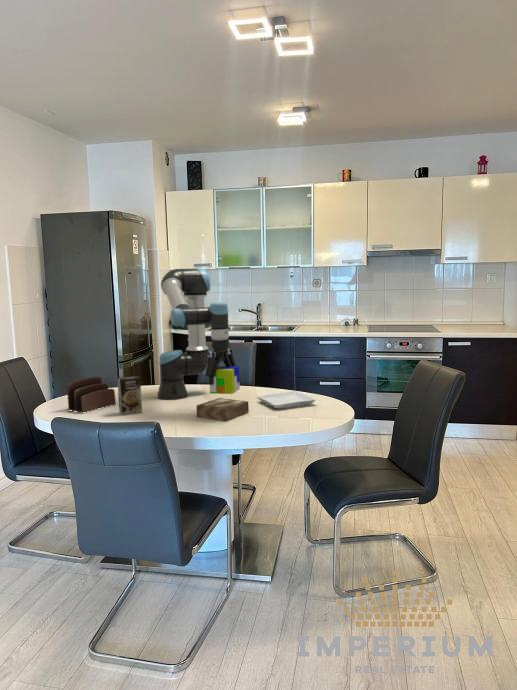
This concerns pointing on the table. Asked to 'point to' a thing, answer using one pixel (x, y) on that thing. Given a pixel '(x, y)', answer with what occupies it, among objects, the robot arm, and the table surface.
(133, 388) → the coffee box
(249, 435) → the table surface
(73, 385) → the letter holder
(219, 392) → the puzzle toy
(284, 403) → the salad plate
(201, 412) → the plinth
